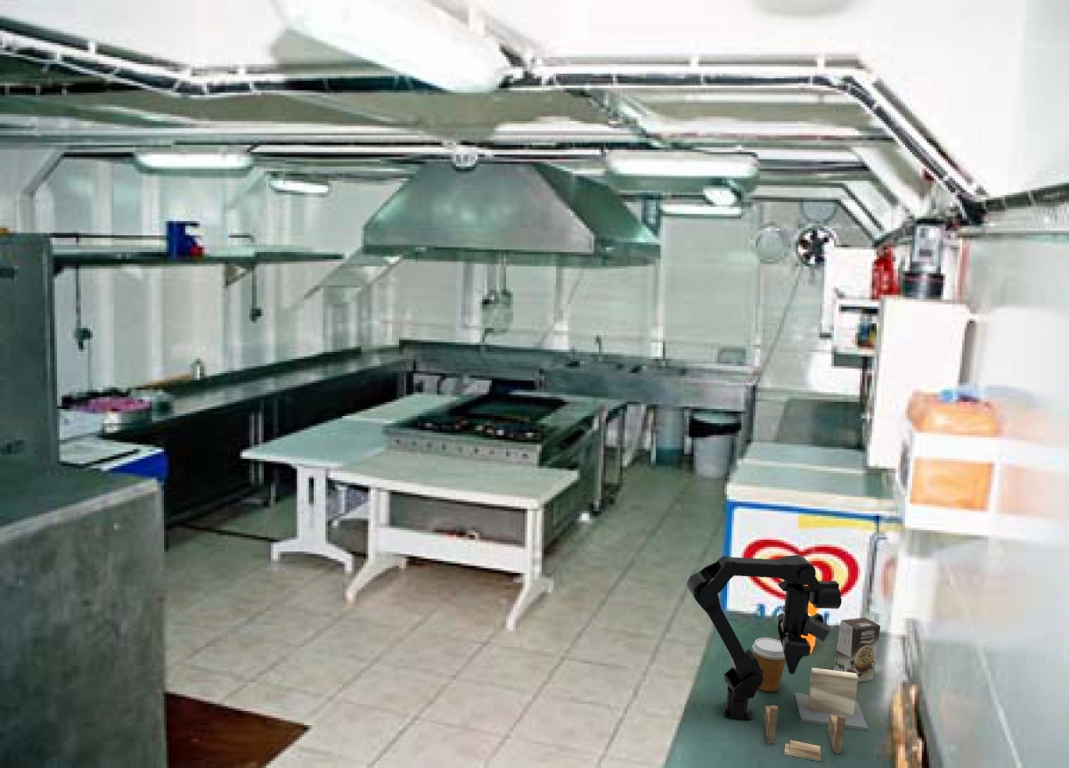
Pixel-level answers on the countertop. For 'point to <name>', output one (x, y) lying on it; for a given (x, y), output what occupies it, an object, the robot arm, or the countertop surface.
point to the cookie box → (857, 647)
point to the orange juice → (810, 638)
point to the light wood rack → (834, 727)
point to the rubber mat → (828, 714)
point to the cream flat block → (832, 691)
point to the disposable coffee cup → (770, 661)
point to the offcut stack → (803, 750)
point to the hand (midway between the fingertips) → (789, 665)
